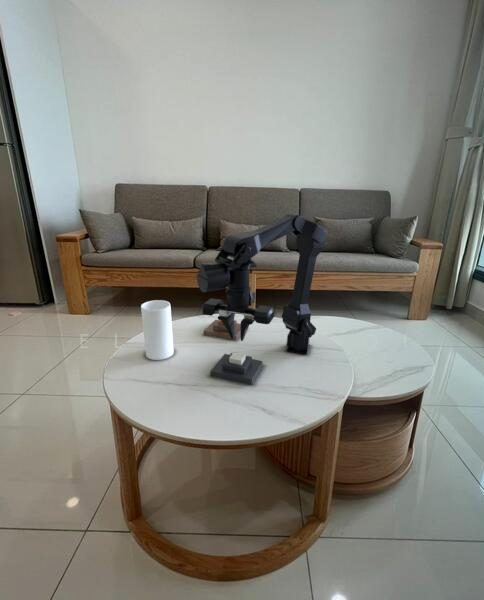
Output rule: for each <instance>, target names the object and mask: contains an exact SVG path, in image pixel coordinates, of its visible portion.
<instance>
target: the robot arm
mask: <svg viewBox="0 0 484 600" xmlns="http://www.w3.org/2000/svg"><path fill="white" fill-rule="evenodd" d="M289 234H292V235H295V236H296V247H297V250H298V253H299V258H298V263H297V266H296V267H297V268H296V273H295V278H294V279H295V280H294V285H293V290H292V296H291V300H290V302H289V303H288V304H287V305H286V304H285V305H283V307H282V314H281V318H282V323H283V325H284V326H285V329H287V330H289V332H288V334H287V337H286V347H287V348H286V351H287V352H290V353H294V354H295V353H296V354H301V355H307V354H308V352H309V350H310V348H311V347H310V346H311V344H310V339H311V338H312V336H314V335H315V334H316V331H317V327H316V326H315V325H314V324H313V323H312V322H311V317H312V313H311V310H310V307H309V299H310V294H311V289H312V284H313V278H314V272H315V268H316V267H315V266H316V262H317V258H318V256H319V255H320V253H321V252H322V251H323V250H324V249H325V245H326V242H327V239H328V231H327V230H326V227H325V226H322V225H319V224H316V223H314V222H312V221H310V220H308V219H306V218H305V217H303V216H302V215H300V214H296V213H287V214H285V215H284V216H283V217H280V218H278V219H276V220H274V221H272V222H270V223H267V224H265V225H263V226H260V227H259V228H256V229H254V230H250V231H242V232H237V233H233V234H232V233H231V234H229V235H227V236H226V237H225V238H224V241H223V245H222V247H221V248H220V250H219V251H218V254H217V255H216V257H215V259H214V262H202V263H200V268H199V269H198V271H197V275H196V283H197V286H198V288H199V290H200V291H201V292H202V293H208V292H213V291H219V290H225V289H226V290H225V291H224V295H225V296H226V304H224V303H225V302H224V301H223V299H218V298H210V299H208V300H207V301H205V302H204V303H203V304H202V306H201V314H202V315H204V316H211V317H212V316H213V315H214V314H216V312H218V316H217V320H221V321H222V323H223V324H224V326H225V327H226V329H227V331H228V333H229V335H230V337H231V338H232V339H234V338H235V326H234V320H235V317H236V315H243V319H241V320H240V324H241V334H240V336H239V338H240V341H241V342H243V341H244V339H245V337H246V335H247V332H248V329H249V327H250V325H253V324H254V322H255V323H256V324H261V325H270V323H271V322H272V320H273V319H274V318H275V313H276V312H275V309H274V307H273V306H270V305H269V306H268V305H262V304H260V305H259V306H258V307H257V308H253V307H251V306H252V305H253V304H255V303H256V293H257V292H256V291H252V289H251V288H252V287H251V286H250V275H251V274H250V270H251V269H252V268H253V269H254V268H257V267H258V264H257V263H256V262H255V261H254V260H253V258H254V257H256V255H258V254H259V252H260V251H261V249H263V247H265V246H267V245H269V244H271V243H273V242H275V241H278V240H279V239H282V238H283V237H286V236H287V235H289Z"/></svg>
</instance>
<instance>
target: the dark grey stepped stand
mask: <svg viewBox="0 0 484 600" xmlns="http://www.w3.org/2000/svg"><path fill="white" fill-rule="evenodd" d="M233 353H234V352H230V354H228V353H224V354H223V355H222V356H221V358H220V359H219V360H218V361H217V363H216V364H215V365H214V366H213V367H212V369H211V370H210V377H212V378H217V379H222V380H227V381H232V382H235V383H240V384H246V385H250V386H252V385H253V384H254V382H255V380H256V378H257V377H258V375H259V373H260V372H261V369H262V368H263V365H264V361H263V360H259V359H255V358H253V356H250V355H246V360H245V361H244V363H243V364H242V365H237V364H232V363H229V358H230V356H231V355H232V354H233Z"/></svg>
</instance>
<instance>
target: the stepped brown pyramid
mask: <svg viewBox="0 0 484 600" xmlns="http://www.w3.org/2000/svg"><path fill="white" fill-rule="evenodd" d="M234 326H235V338H234V339H232V338H231V337H230V335H229V333H228V331H227V329H226V327H225V326H224V325H219V320H218V319H214V320H213V322H211V323H210V324H209V325H208V326H207V327H206V328H205V329H204V330H203V335H204V336H207V337H213V338H219V339H225V340H231V341H237V340H238V339H239V338H240V334H241V323H238V320H235V319H234Z"/></svg>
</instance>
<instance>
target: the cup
mask: <svg viewBox="0 0 484 600" xmlns="http://www.w3.org/2000/svg"><path fill="white" fill-rule="evenodd" d="M171 308H172V307H171V303H170V302H169V301H167V300H162V299H159V300H158V299H155V300H149V301H145V302H144V303H141V305H140V311H141V320H142V321H141V322H142V329H143V340H144V350H145V356H146V358H147V359H149V360H152V361H162V360H165V359H168V358H170V357H172V356H173V355H174V353H175V351H174V337H173V323H172V321H173V320H172V309H171Z"/></svg>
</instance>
